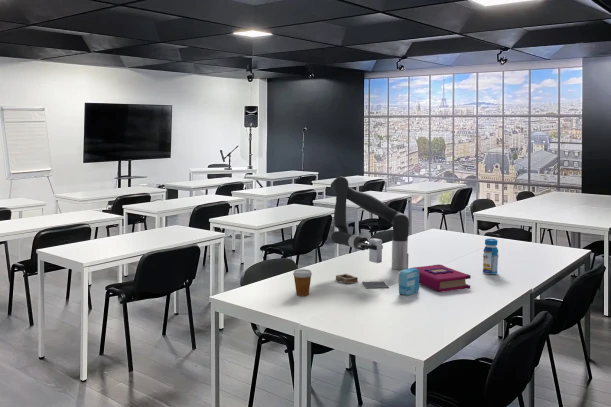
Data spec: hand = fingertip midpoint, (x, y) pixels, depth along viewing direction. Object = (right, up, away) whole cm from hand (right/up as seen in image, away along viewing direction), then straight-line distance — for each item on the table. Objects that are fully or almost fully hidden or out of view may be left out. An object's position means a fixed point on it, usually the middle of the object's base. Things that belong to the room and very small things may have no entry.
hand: (379, 247), depth 292 cm
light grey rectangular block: (-2, -8, +3) cm, 8 cm away
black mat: (-1, -20, +5) cm, 21 cm away
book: (+33, -21, +8) cm, 40 cm away
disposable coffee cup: (-40, -23, -12) cm, 48 cm away
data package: (+14, -22, -10) cm, 28 cm away
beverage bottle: (+68, -17, +29) cm, 76 cm away
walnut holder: (-16, -19, +14) cm, 29 cm away
